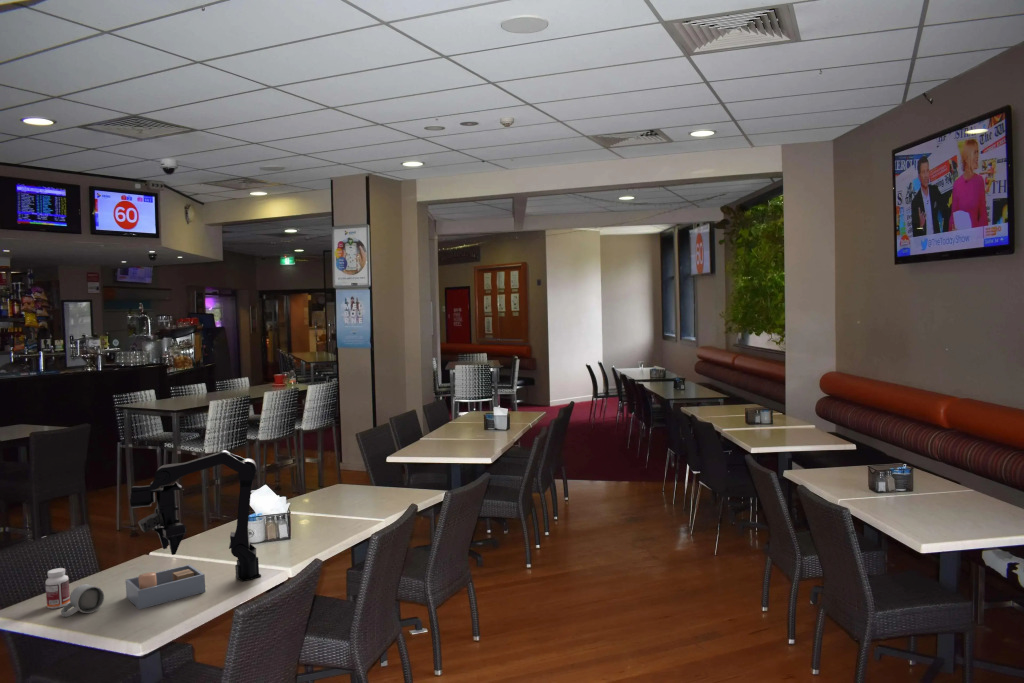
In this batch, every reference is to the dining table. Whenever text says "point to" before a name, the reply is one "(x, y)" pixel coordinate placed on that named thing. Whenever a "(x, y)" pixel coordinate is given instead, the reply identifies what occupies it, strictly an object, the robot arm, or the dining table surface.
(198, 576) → the tote
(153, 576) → the terracotta cylinder
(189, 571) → the walnut cube
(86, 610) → the ceramic mug
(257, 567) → the robot arm
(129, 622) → the dining table surface
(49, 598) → the pill bottle
